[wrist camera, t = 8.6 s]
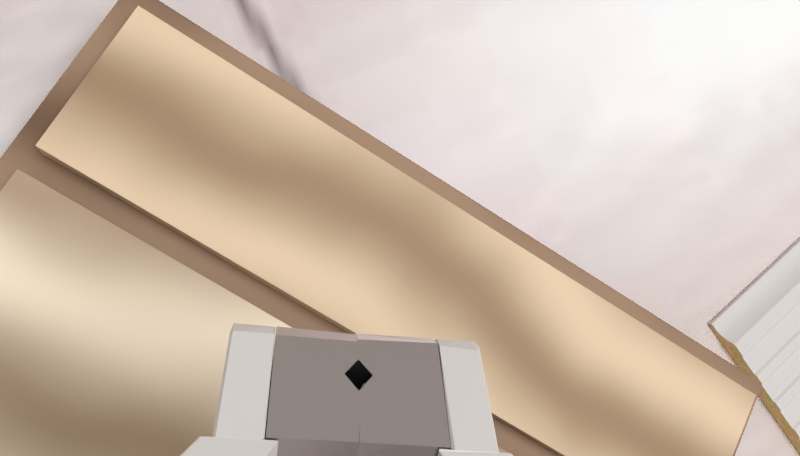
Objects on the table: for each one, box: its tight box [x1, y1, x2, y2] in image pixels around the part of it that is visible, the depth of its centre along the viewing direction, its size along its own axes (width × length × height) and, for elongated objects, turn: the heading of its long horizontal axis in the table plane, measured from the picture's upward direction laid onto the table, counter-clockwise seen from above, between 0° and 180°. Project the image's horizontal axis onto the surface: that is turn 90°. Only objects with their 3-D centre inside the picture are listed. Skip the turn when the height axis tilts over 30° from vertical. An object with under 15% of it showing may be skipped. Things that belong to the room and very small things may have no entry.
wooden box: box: [0, 0, 762, 456], centre depth 28 cm, size 22×30×5 cm
